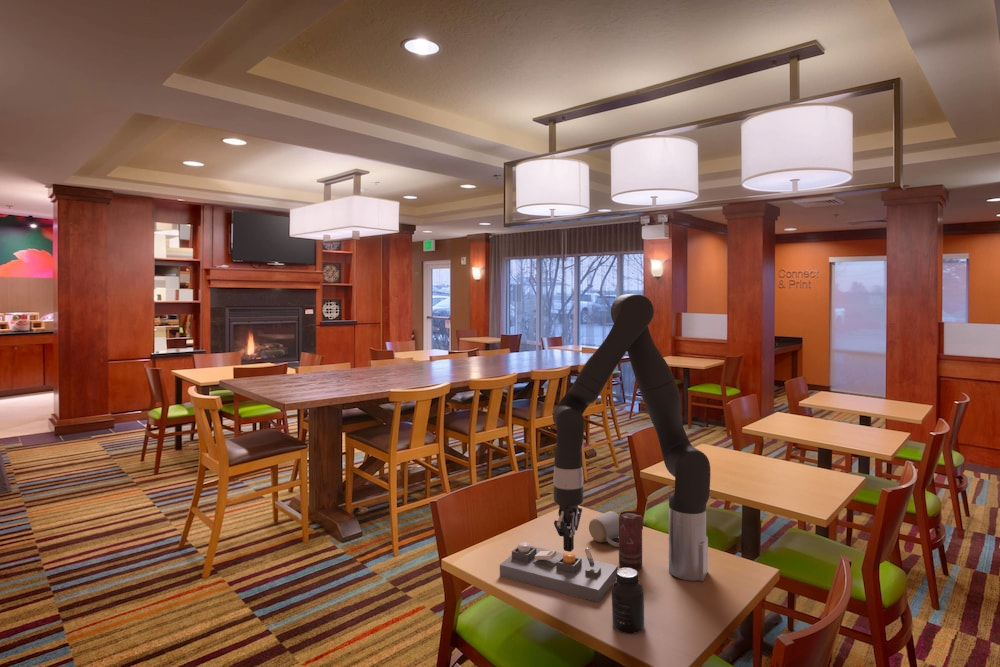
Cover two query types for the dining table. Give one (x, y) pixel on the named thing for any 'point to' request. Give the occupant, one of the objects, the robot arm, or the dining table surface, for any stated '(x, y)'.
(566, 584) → the control panel
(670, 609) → the dining table surface
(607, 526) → the ceramic mug
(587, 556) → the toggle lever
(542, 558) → the rocker switch
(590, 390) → the robot arm
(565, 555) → the orange button
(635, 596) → the supplement bottle
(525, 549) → the grey button
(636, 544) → the can
